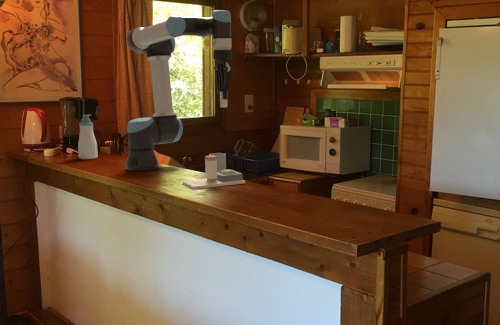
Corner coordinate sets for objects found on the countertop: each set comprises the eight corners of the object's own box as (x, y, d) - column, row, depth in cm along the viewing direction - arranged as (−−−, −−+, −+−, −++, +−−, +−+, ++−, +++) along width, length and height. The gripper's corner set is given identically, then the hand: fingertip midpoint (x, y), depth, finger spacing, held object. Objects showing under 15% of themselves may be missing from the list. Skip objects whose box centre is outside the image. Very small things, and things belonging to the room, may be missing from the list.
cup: (214, 176, 240) (214, 156, 239) (203, 173, 248) (202, 153, 247) (229, 174, 244) (228, 154, 243) (217, 171, 252) (217, 151, 251)
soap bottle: (101, 157, 302) (99, 114, 299) (89, 160, 294) (86, 116, 290) (87, 156, 306) (84, 114, 303) (74, 159, 298) (71, 115, 294)
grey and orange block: (205, 180, 226) (204, 156, 224) (213, 180, 227) (213, 155, 226) (209, 182, 222) (208, 157, 221) (217, 181, 224) (216, 156, 222)
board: (182, 183, 226) (182, 175, 225) (232, 178, 236) (232, 170, 235) (193, 189, 215) (193, 180, 215) (245, 183, 225) (245, 174, 224)
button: (219, 177, 230) (219, 170, 230) (230, 176, 232) (230, 169, 232) (224, 179, 226) (224, 172, 225) (235, 178, 228) (235, 170, 227)
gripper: (207, 50, 235) (209, 106, 239) (220, 48, 224) (221, 108, 227) (224, 50, 238) (225, 106, 242) (237, 48, 227) (238, 107, 231)
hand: (223, 107), depth 235 cm, fingers closed
